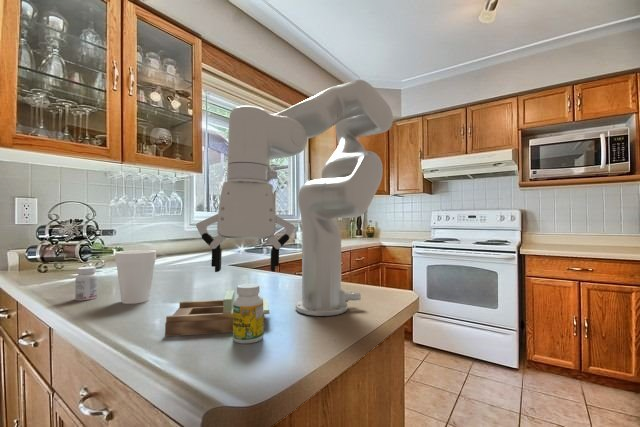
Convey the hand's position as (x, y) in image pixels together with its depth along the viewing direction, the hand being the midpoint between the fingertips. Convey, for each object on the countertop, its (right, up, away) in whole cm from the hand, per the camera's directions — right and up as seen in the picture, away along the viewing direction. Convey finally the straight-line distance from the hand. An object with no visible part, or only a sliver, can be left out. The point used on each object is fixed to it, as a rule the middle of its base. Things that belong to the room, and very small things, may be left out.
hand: (245, 270), depth 56 cm
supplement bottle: (0, -13, 0) cm, 13 cm away
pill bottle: (-50, -13, +29) cm, 59 cm away
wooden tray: (-8, -13, +9) cm, 17 cm away
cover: (-2, -10, +10) cm, 14 cm away
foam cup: (-36, -13, +27) cm, 46 cm away
